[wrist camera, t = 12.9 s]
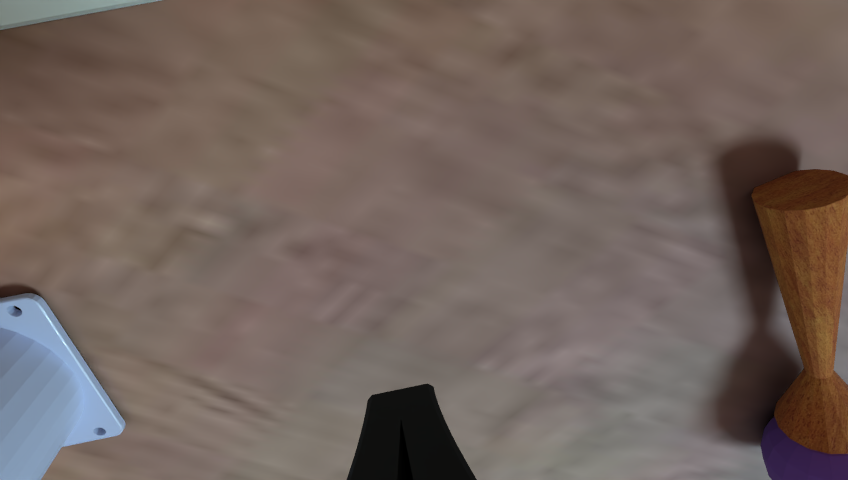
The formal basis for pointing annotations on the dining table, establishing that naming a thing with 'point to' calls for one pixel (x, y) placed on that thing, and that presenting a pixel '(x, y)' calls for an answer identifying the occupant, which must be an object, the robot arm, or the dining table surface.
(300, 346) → the dining table surface
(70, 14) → the sage board
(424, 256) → the dining table surface
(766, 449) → the kendama
